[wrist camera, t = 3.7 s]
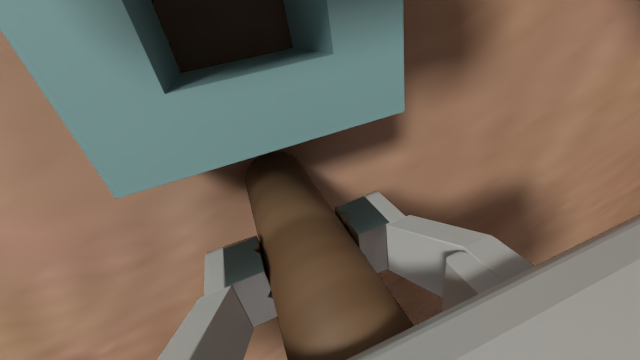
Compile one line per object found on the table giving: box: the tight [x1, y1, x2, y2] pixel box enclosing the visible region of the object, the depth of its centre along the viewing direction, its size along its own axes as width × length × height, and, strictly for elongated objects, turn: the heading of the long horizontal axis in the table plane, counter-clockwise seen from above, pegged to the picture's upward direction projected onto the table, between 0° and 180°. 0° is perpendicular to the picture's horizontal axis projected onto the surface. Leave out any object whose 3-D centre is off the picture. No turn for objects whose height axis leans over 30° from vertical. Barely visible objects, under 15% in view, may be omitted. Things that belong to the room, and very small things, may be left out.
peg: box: [245, 152, 414, 360], centre depth 8 cm, size 3×3×10 cm
